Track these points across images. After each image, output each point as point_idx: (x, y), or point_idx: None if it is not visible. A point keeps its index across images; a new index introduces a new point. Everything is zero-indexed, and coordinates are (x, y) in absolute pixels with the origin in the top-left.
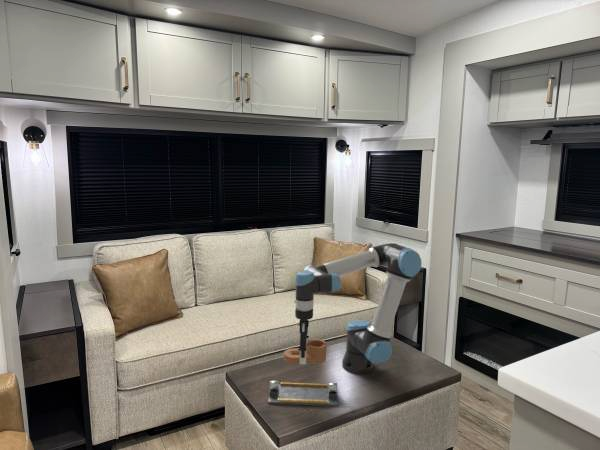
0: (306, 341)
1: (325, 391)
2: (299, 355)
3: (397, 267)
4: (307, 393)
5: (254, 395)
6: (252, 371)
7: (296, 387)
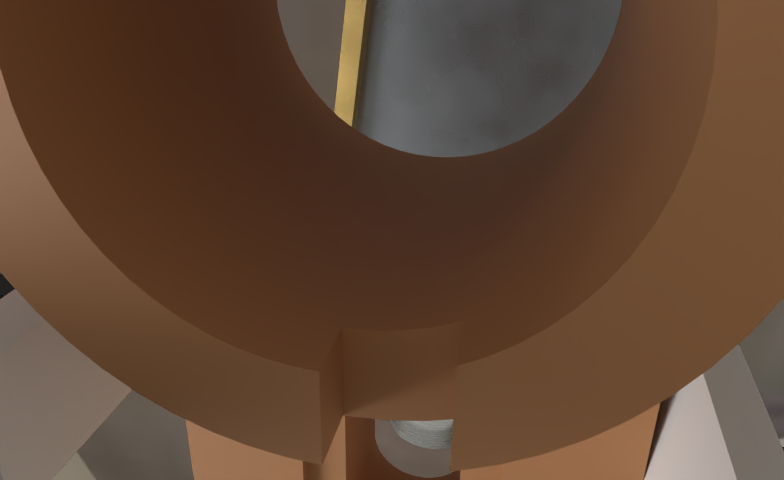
0: (39, 344)
1: None
2: (528, 465)
3: None
4: (503, 43)
5: (442, 463)
6: (119, 431)
7: (380, 142)
